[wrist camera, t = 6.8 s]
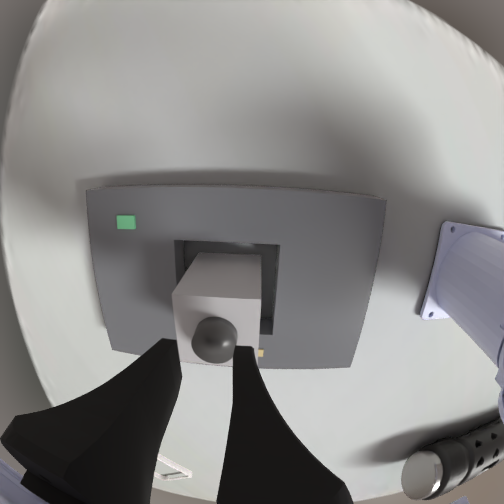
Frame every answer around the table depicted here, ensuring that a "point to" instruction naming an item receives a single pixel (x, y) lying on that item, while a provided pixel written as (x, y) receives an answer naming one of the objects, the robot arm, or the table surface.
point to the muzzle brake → (452, 461)
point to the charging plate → (239, 231)
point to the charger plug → (218, 307)
